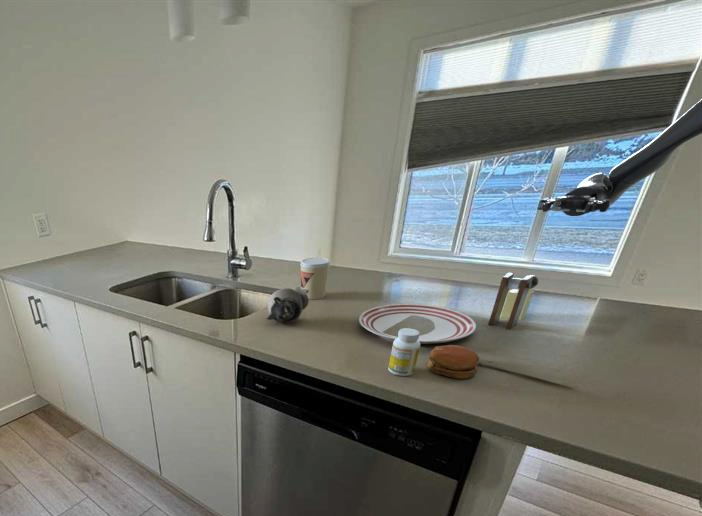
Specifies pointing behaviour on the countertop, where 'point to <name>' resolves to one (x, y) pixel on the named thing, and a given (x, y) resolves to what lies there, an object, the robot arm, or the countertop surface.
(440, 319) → the dinner plate
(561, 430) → the countertop surface
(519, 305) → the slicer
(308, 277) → the coffee cup
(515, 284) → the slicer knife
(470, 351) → the burger
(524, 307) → the butter
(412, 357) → the supplement bottle
